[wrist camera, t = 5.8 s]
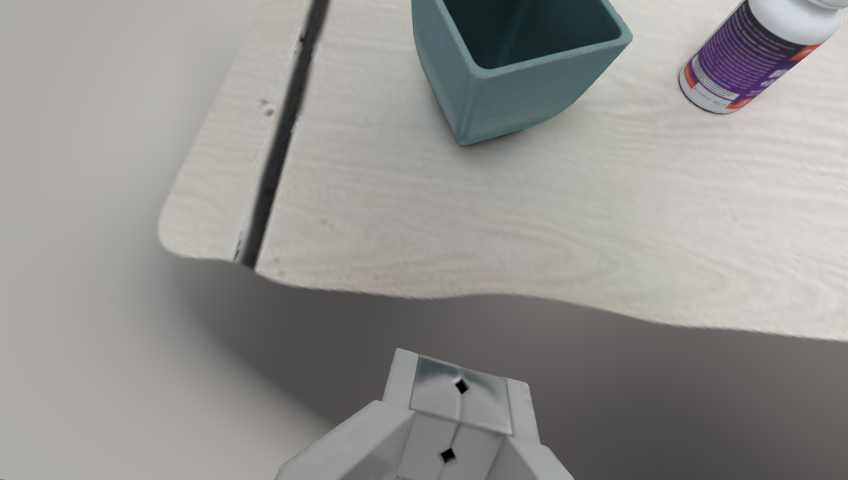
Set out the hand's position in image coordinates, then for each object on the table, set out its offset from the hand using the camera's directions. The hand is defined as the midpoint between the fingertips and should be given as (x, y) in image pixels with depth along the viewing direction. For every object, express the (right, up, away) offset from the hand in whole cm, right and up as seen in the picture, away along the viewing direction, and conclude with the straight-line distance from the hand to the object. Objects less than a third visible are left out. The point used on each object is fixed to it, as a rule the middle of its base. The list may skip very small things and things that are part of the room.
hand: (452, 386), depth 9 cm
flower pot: (+3, +12, +19) cm, 23 cm away
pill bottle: (+22, +15, +22) cm, 34 cm away
